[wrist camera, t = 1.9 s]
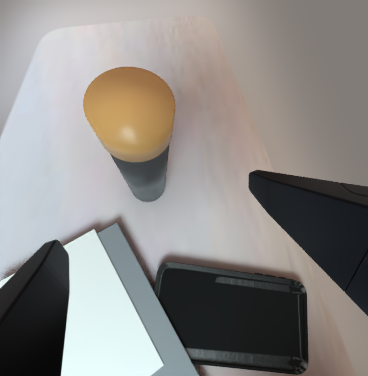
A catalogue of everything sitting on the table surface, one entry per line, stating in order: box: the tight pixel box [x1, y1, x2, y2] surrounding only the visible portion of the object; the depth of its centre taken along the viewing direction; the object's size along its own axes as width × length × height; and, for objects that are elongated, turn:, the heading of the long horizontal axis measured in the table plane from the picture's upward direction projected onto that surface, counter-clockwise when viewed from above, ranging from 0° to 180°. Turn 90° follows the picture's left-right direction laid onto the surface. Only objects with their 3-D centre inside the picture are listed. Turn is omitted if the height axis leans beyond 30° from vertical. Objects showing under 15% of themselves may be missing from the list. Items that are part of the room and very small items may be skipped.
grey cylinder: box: [83, 67, 175, 202], centre depth 14 cm, size 4×4×13 cm
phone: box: [154, 262, 308, 375], centre depth 18 cm, size 8×1×15 cm
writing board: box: [0, 223, 200, 376], centre depth 16 cm, size 18×12×1 cm, turn 32°
